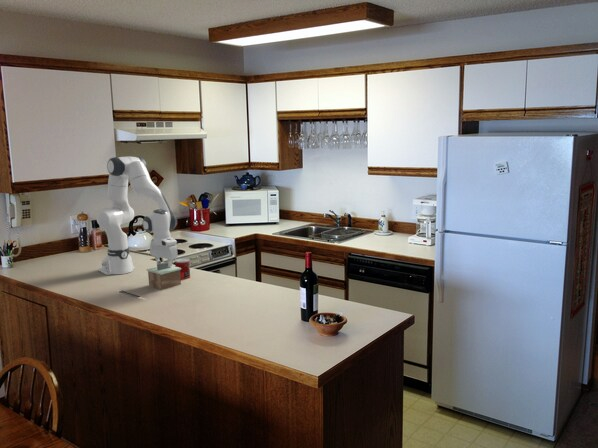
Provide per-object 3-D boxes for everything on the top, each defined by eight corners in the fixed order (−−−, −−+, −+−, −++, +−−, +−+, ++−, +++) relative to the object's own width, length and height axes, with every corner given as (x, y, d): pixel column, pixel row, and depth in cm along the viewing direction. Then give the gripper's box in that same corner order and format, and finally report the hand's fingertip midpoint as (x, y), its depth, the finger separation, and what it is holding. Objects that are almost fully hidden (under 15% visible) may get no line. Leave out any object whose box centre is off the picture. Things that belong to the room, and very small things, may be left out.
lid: (146, 273, 293) (146, 263, 292) (167, 268, 303) (166, 259, 302) (161, 277, 285) (160, 267, 284) (181, 271, 294) (180, 262, 293)
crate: (149, 286, 295) (148, 270, 293) (167, 281, 304) (166, 266, 302) (162, 290, 287) (161, 274, 285) (181, 285, 296) (180, 269, 294)
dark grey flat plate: (119, 291, 287) (119, 291, 287) (145, 284, 299) (145, 284, 299) (136, 297, 276) (136, 297, 276) (162, 290, 288) (162, 289, 288)
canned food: (187, 281, 304) (186, 261, 302) (173, 280, 306) (172, 261, 304) (192, 277, 312) (191, 258, 310) (179, 276, 313) (178, 258, 311)
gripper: (145, 239, 295) (148, 264, 298) (168, 243, 282) (170, 269, 284) (155, 237, 300) (157, 261, 302) (178, 241, 287) (180, 267, 289)
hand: (164, 265), depth 293 cm, fingers open, 8 cm apart
